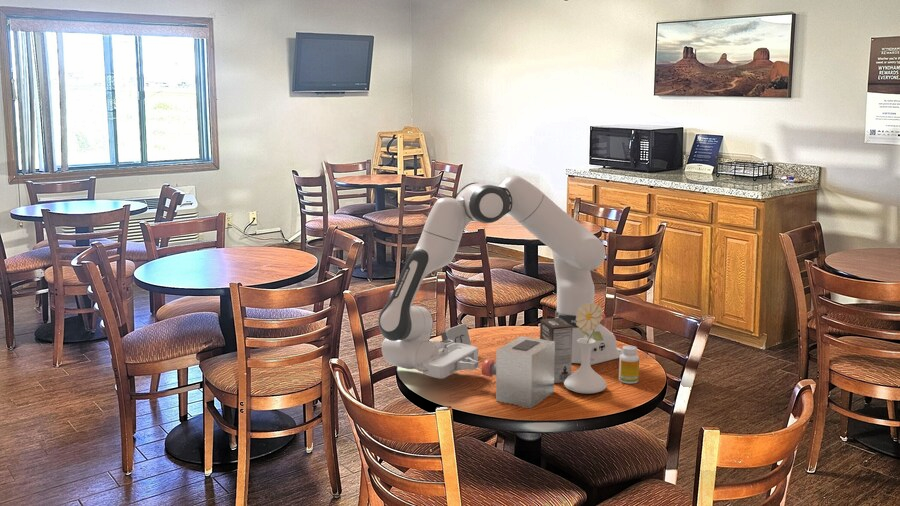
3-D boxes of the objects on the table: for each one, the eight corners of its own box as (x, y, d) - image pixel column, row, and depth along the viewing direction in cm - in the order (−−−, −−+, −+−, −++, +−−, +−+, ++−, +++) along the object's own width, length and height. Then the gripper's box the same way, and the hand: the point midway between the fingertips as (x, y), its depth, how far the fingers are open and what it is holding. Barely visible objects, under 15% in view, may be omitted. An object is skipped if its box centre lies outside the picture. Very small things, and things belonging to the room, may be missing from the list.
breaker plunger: (481, 377, 224) (481, 361, 223) (489, 372, 227) (489, 357, 226) (516, 384, 218) (516, 368, 217) (524, 379, 222) (524, 363, 221)
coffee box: (538, 373, 238) (539, 318, 235) (558, 371, 240) (560, 317, 237) (551, 383, 230) (552, 327, 227) (572, 381, 232) (573, 325, 229)
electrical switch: (454, 360, 250) (451, 330, 249) (440, 359, 253) (438, 329, 252) (473, 353, 257) (470, 323, 256) (459, 351, 261) (457, 322, 259)
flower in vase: (556, 385, 228) (558, 296, 223) (592, 380, 232) (595, 293, 227) (580, 402, 216) (582, 308, 211) (618, 396, 220) (621, 304, 215)
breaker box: (496, 401, 217) (496, 348, 214) (520, 385, 228) (520, 335, 226) (531, 408, 212) (531, 354, 209) (553, 391, 223) (554, 340, 221)
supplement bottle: (641, 383, 230) (642, 349, 228) (622, 384, 229) (624, 350, 227) (634, 377, 235) (635, 343, 233) (615, 378, 234) (617, 344, 232)
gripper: (412, 356, 224) (456, 365, 217) (452, 337, 241) (494, 345, 234) (412, 379, 226) (456, 388, 218) (452, 358, 243) (494, 366, 236)
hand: (476, 365), depth 227 cm, fingers closed
